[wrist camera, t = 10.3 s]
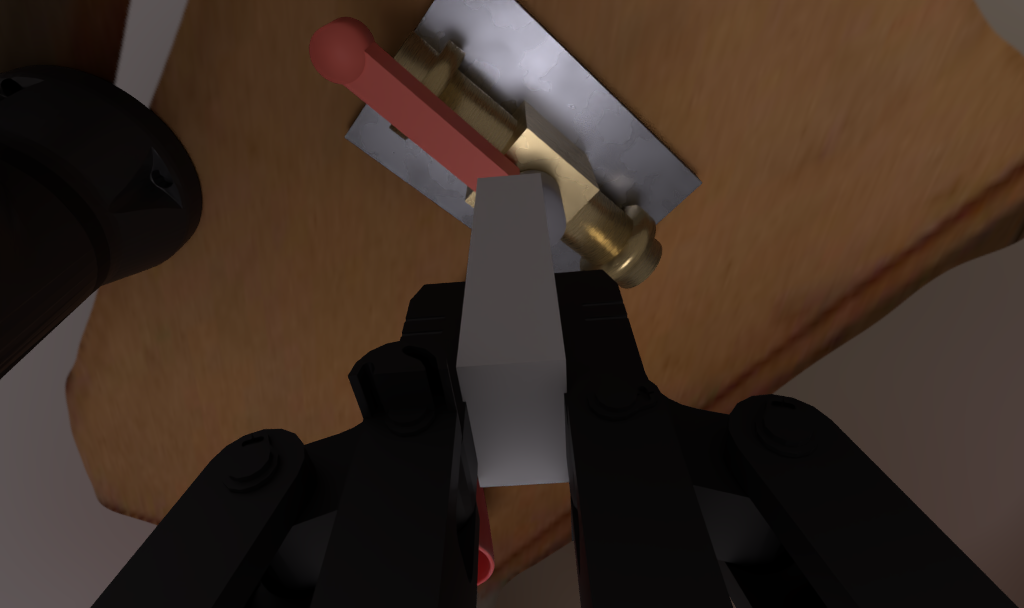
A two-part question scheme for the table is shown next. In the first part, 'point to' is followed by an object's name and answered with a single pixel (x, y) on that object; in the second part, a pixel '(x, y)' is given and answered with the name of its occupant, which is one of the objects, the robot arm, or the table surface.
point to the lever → (418, 111)
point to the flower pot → (484, 539)
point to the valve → (537, 134)
